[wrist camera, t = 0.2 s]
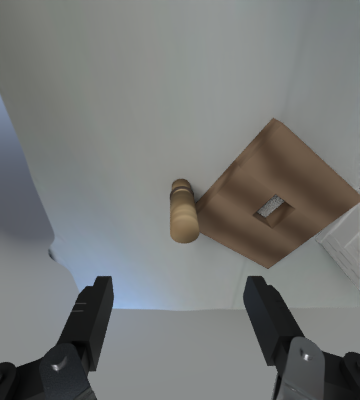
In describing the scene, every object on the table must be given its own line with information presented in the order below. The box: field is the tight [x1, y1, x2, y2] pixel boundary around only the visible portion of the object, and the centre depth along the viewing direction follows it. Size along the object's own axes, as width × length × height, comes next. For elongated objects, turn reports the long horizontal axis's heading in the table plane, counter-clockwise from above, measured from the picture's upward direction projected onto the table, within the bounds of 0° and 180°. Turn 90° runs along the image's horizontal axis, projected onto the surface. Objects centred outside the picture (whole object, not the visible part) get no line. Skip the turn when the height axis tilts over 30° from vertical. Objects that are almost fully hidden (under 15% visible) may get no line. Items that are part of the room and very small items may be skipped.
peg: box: [170, 179, 199, 243], centre depth 30 cm, size 4×4×11 cm
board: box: [195, 118, 360, 269], centre depth 36 cm, size 20×20×3 cm
